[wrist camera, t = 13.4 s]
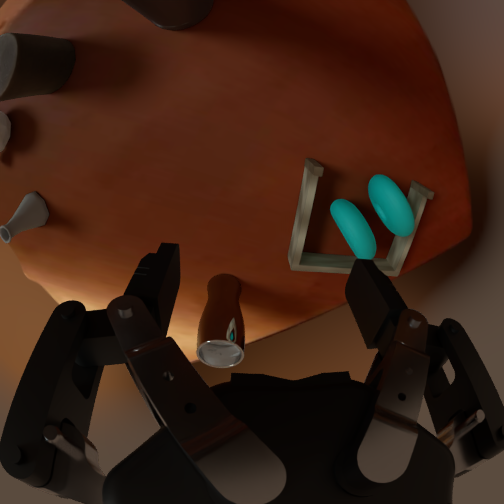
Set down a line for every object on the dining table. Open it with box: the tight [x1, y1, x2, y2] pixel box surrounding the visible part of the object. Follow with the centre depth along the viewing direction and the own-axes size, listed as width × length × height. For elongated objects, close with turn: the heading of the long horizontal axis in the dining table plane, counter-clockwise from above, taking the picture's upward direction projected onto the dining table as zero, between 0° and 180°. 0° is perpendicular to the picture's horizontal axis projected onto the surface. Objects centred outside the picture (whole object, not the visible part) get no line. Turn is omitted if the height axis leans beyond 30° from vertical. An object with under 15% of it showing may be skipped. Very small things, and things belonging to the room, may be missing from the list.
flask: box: [0, 191, 49, 243], centre depth 34 cm, size 7×7×10 cm
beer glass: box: [196, 274, 245, 368], centre depth 42 cm, size 7×7×15 cm
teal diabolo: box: [330, 175, 415, 259], centre depth 36 cm, size 10×10×10 cm
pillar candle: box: [0, 33, 75, 101], centre depth 19 cm, size 10×10×15 cm
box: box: [288, 158, 434, 276], centre depth 40 cm, size 16×20×5 cm
